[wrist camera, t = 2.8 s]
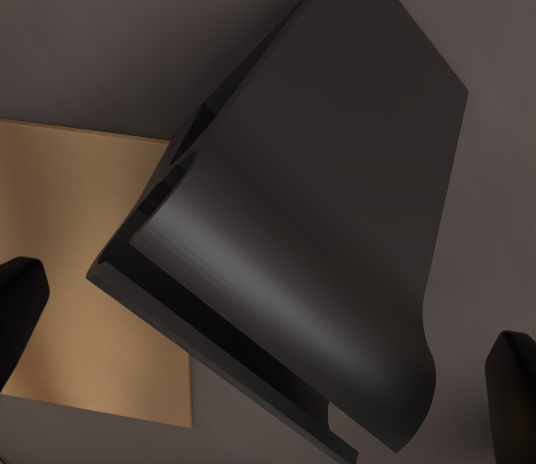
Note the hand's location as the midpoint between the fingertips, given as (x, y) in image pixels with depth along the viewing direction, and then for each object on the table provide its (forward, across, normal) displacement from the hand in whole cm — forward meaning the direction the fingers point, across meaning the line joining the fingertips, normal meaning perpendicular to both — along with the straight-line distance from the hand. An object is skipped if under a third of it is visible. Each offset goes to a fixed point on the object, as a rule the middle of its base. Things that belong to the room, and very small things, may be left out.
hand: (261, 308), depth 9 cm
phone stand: (+10, 0, 0) cm, 11 cm away
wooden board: (+10, +14, +12) cm, 21 cm away
